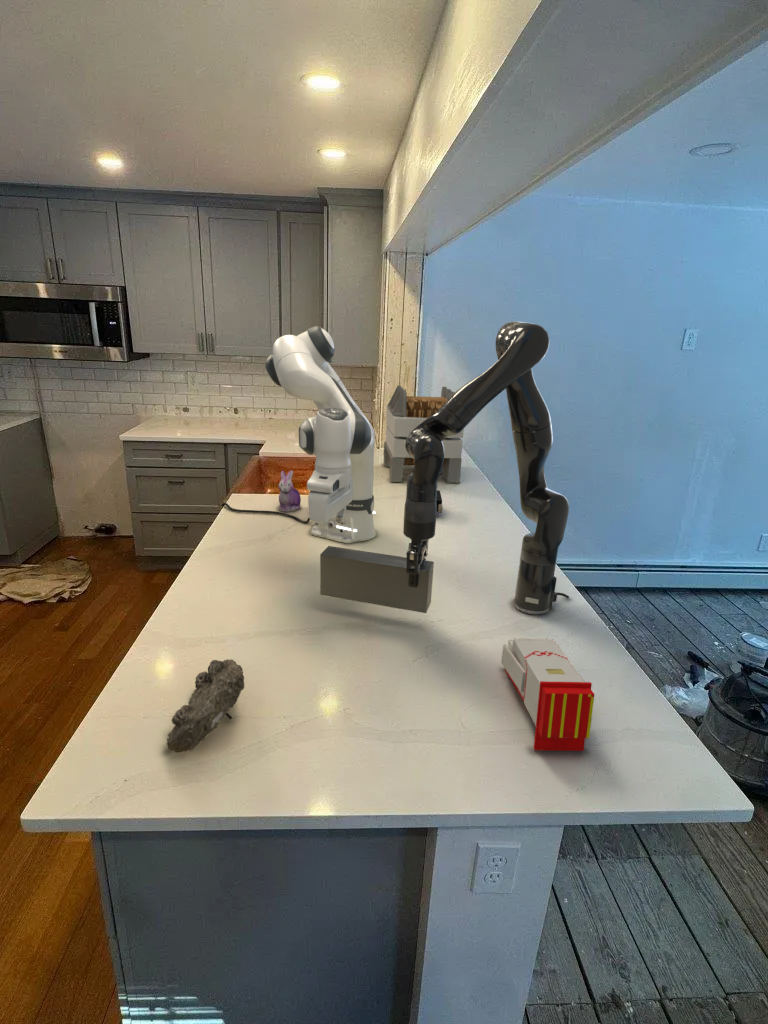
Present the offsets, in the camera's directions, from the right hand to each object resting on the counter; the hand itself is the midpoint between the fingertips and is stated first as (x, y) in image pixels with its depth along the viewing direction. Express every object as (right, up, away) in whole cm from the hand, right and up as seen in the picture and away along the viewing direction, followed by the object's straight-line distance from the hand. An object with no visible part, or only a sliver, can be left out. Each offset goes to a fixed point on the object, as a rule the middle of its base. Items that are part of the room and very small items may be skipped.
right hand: (416, 580), depth 138 cm
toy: (+24, -22, -22) cm, 39 cm away
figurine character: (+11, +16, +84) cm, 86 cm away
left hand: (-21, +13, +5) cm, 25 cm away
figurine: (-44, +18, +81) cm, 94 cm away
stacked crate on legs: (+9, +36, +137) cm, 142 cm away
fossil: (-41, -22, -30) cm, 55 cm away
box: (-10, -5, +5) cm, 12 cm away
